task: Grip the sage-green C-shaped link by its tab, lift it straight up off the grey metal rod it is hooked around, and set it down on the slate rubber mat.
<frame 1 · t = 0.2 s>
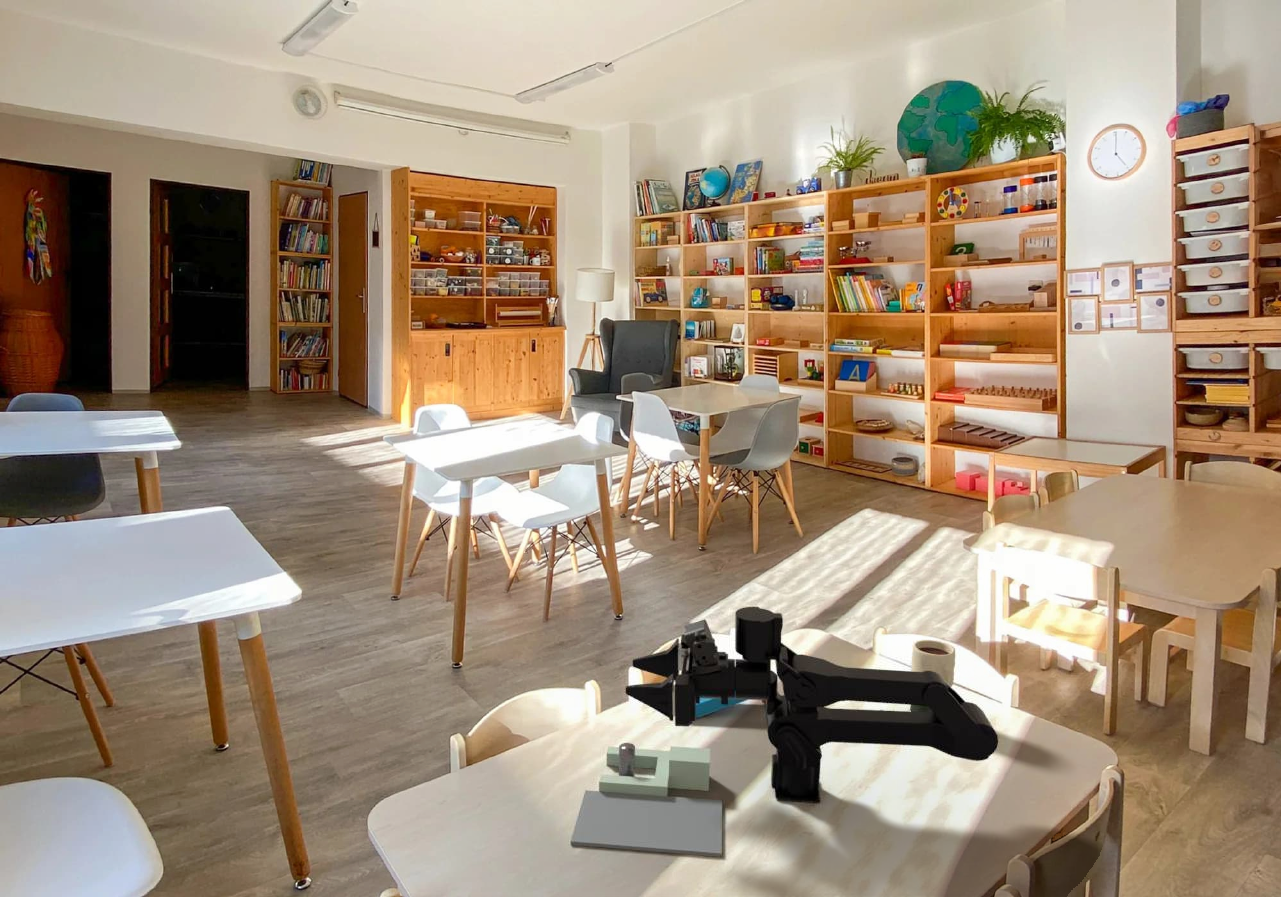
hand: (629, 676, 127), 16 cm above the table, tool horizontal, fingers open, 9 cm apart
lever: (728, 709, 153), on the table
grey metal rod: (626, 777, 130), on the table
cream and green cup: (928, 718, 151), on the table
c link: (636, 778, 130), on the table
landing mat: (649, 823, 119), on the table
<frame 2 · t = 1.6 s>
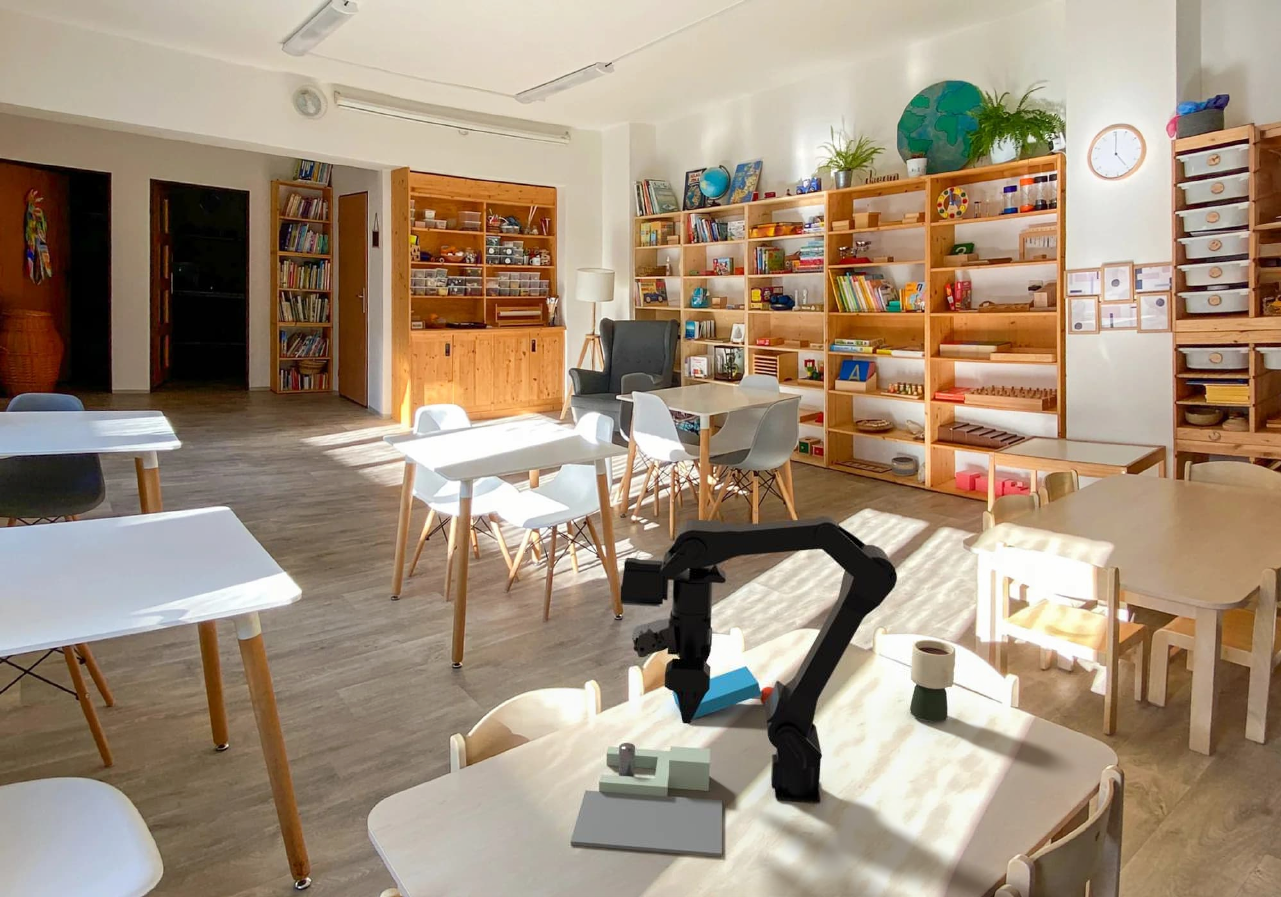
hand: (687, 707, 127), 12 cm above the table, tool pointing down, fingers open, 9 cm apart
nothing on the table moved.
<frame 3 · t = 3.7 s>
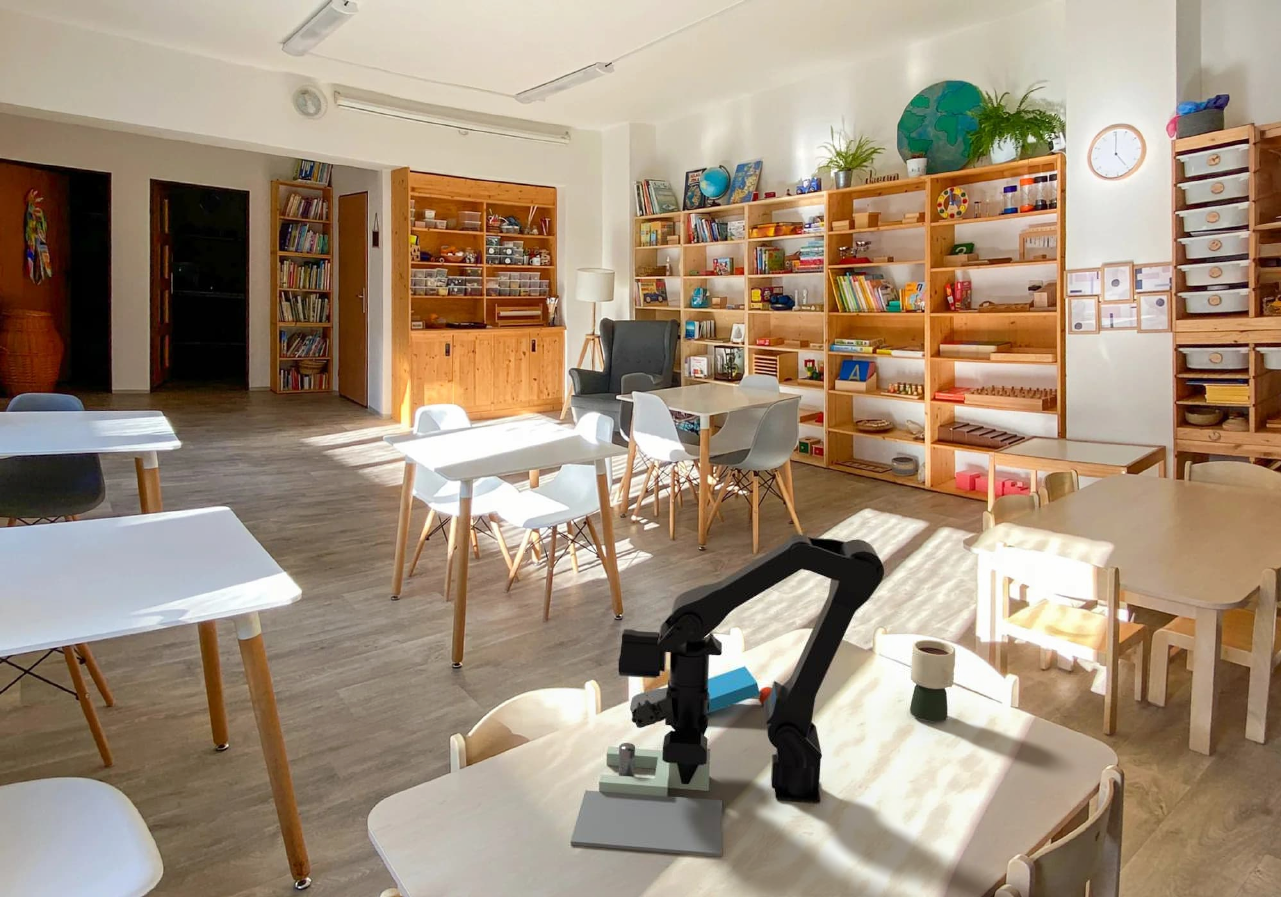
hand: (686, 775, 129), 1 cm above the table, tool pointing down, fingers closed on c link, 4 cm apart
c link: (636, 778, 130), on the table, touching gripper, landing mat
everything else where it was.
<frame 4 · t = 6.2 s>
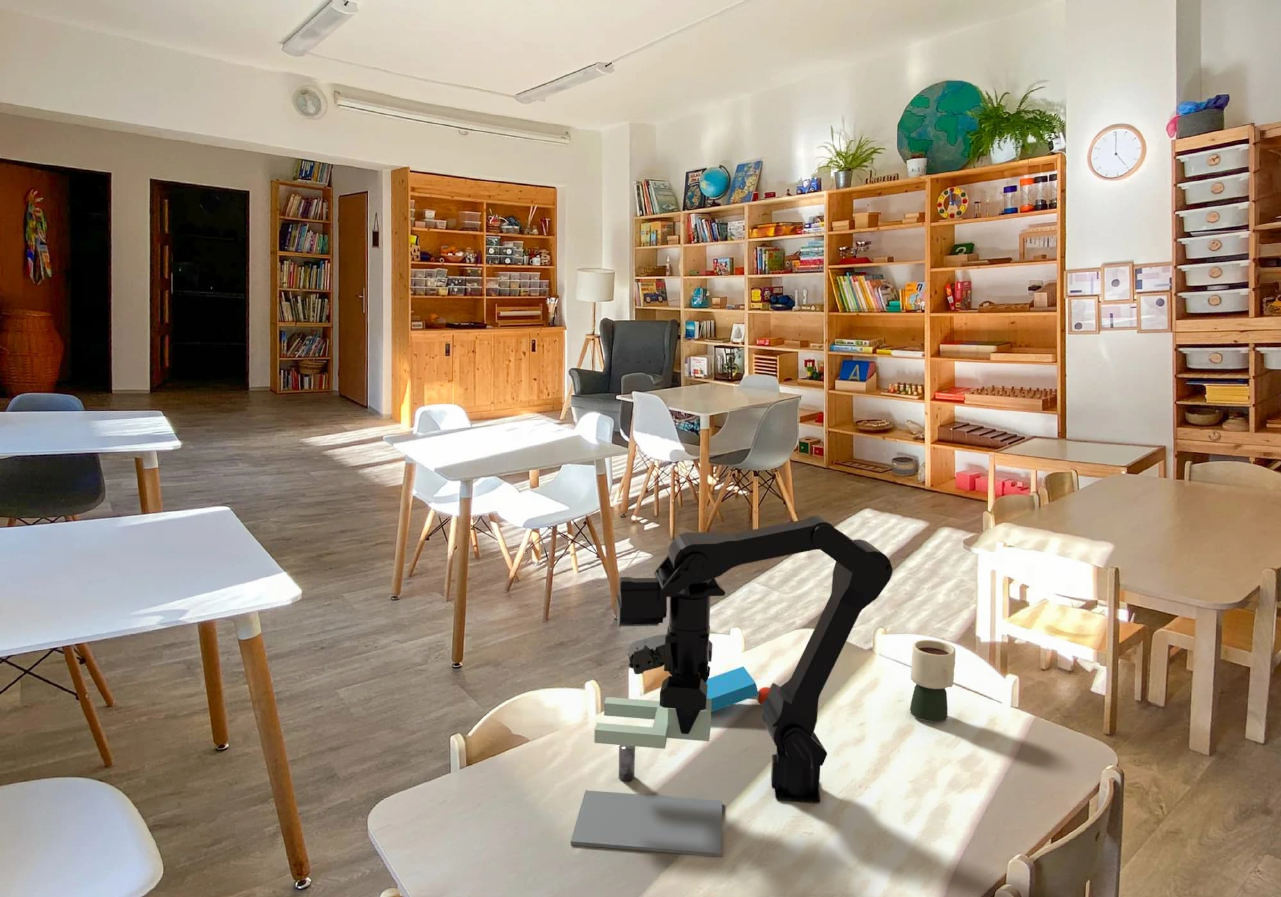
hand: (686, 725, 124), 11 cm above the table, tool pointing down, fingers closed on c link, 4 cm apart
c link: (634, 728, 125), point 10 cm above the table, touching gripper
everything else where it was.
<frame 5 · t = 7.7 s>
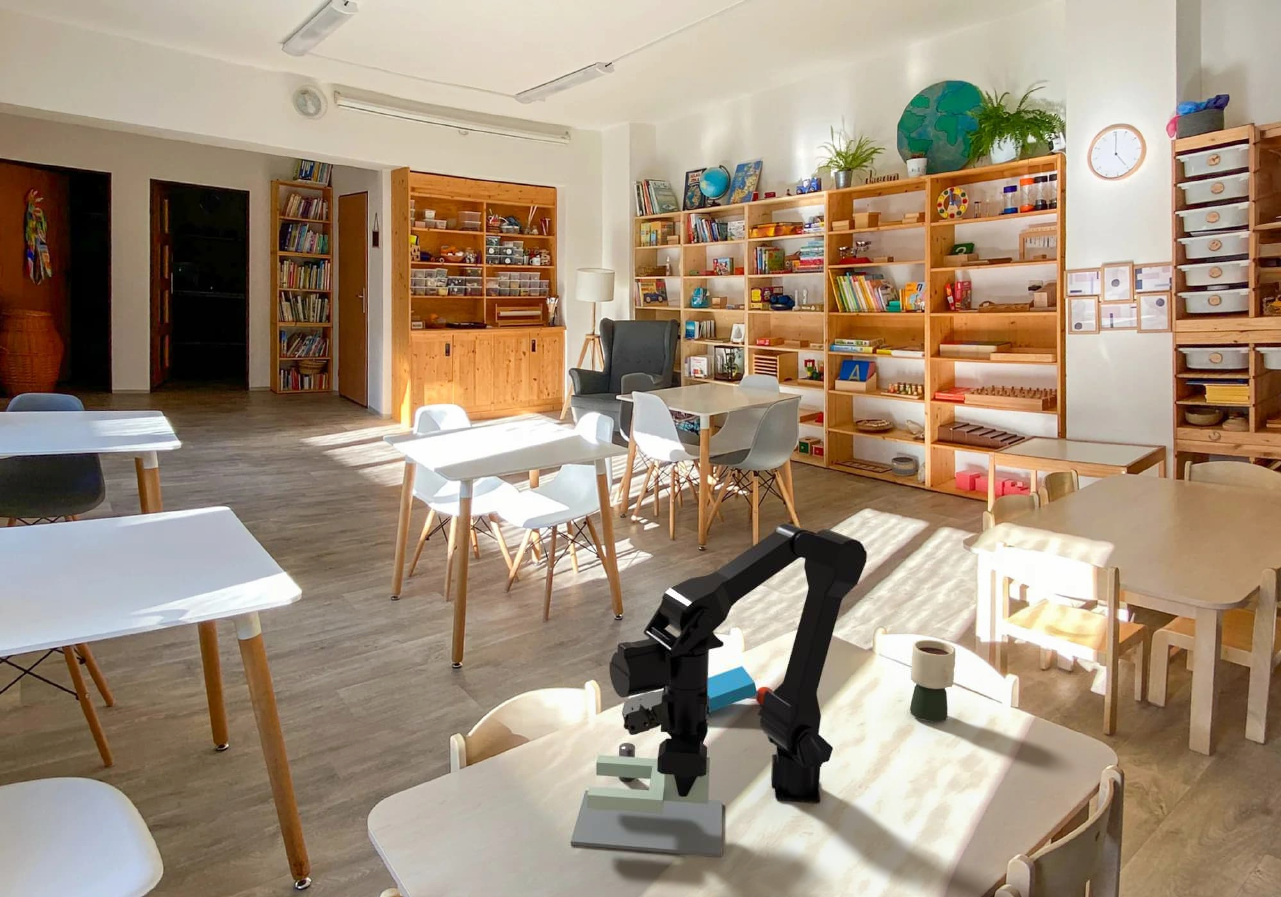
hand: (683, 787, 117), 6 cm above the table, tool pointing down, fingers closed on c link, 4 cm apart
c link: (628, 789, 118), point 5 cm above the table, touching gripper
everything else where it was.
when the fingers open (3 cm above the table, at t = 9.0 s): c link drops 1 cm, resting on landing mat.
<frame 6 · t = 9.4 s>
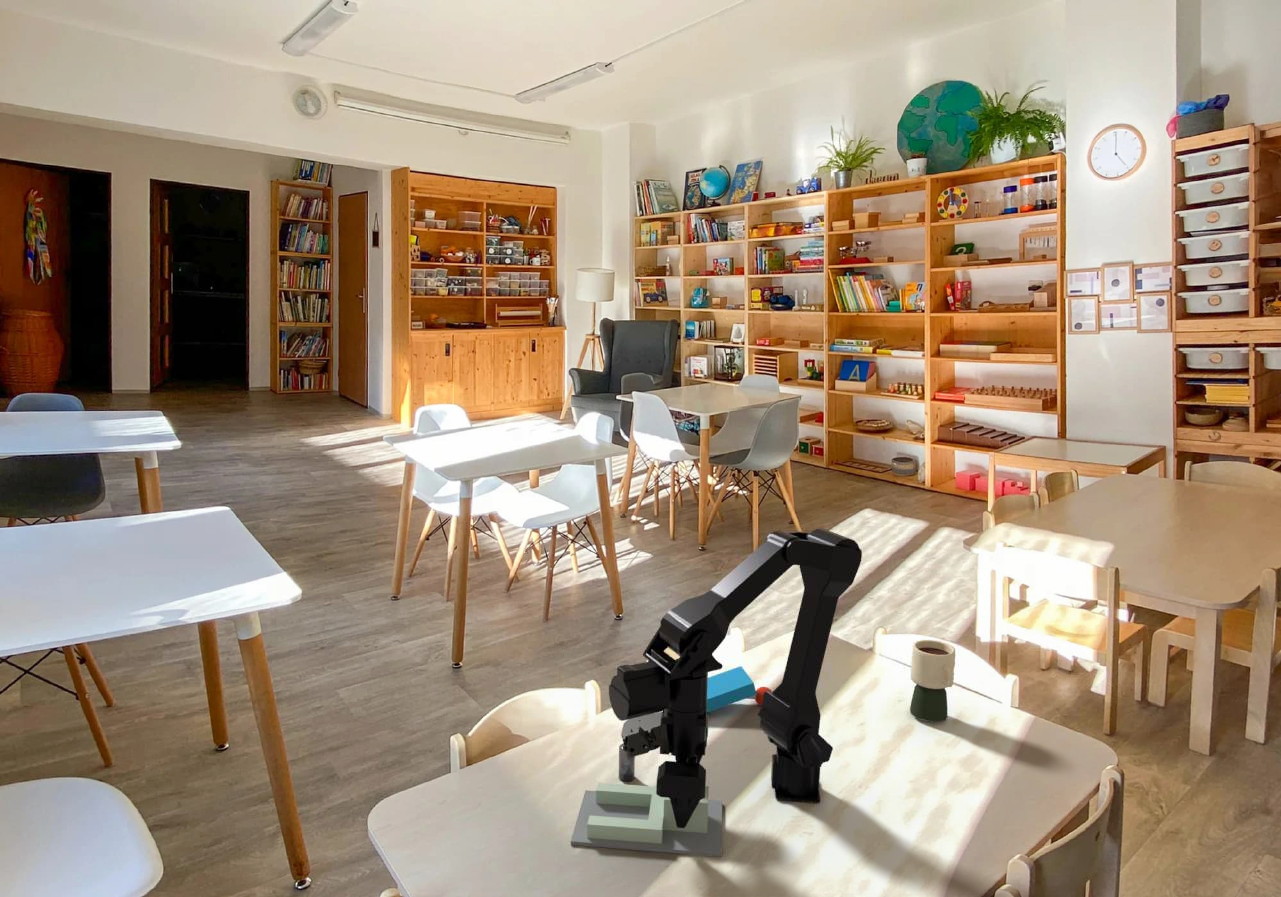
hand: (682, 808, 118), 3 cm above the table, tool pointing down, fingers open, 8 cm apart
c link: (628, 818, 119), resting on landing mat
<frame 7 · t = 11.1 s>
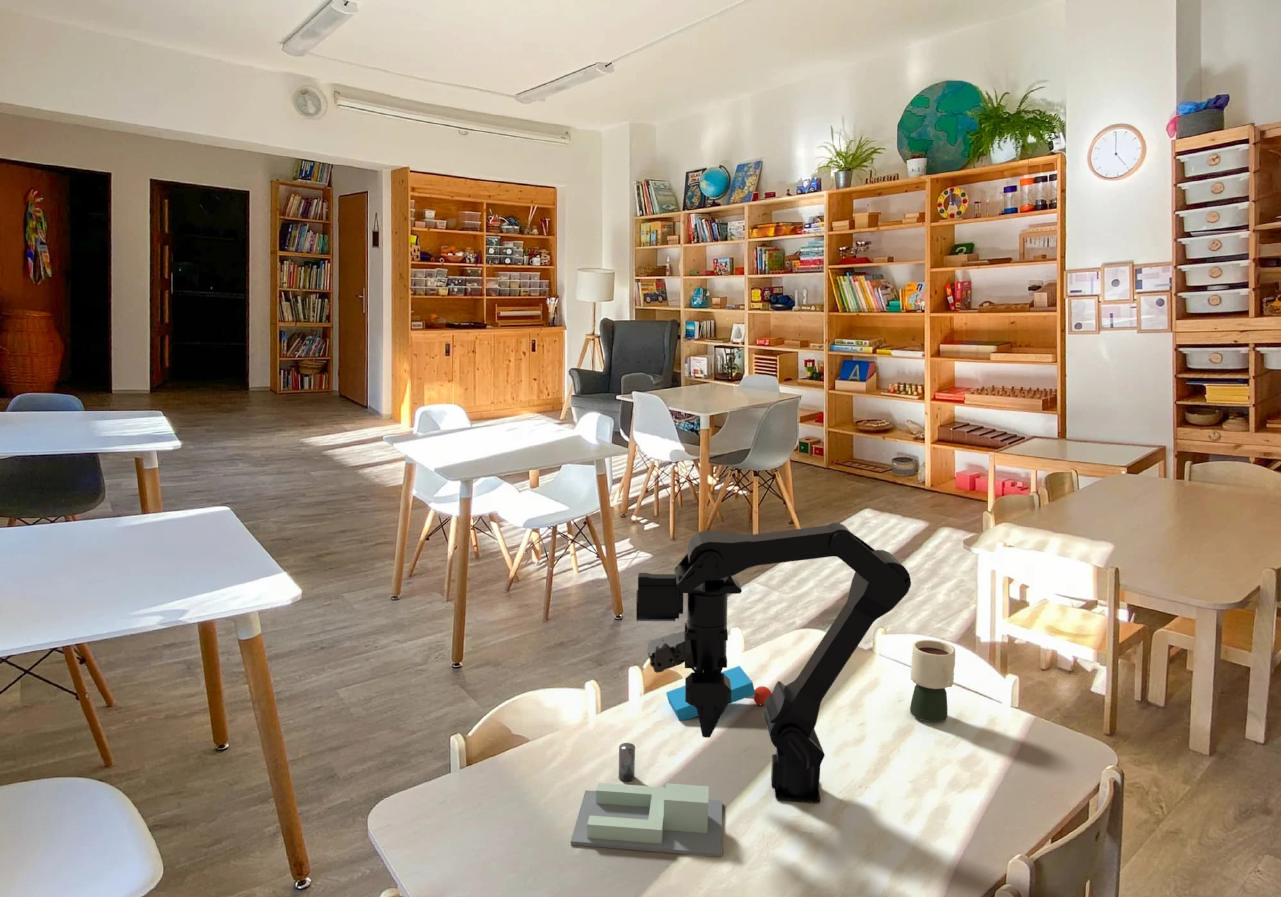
hand: (705, 721, 126), 11 cm above the table, tool pointing down, fingers open, 9 cm apart
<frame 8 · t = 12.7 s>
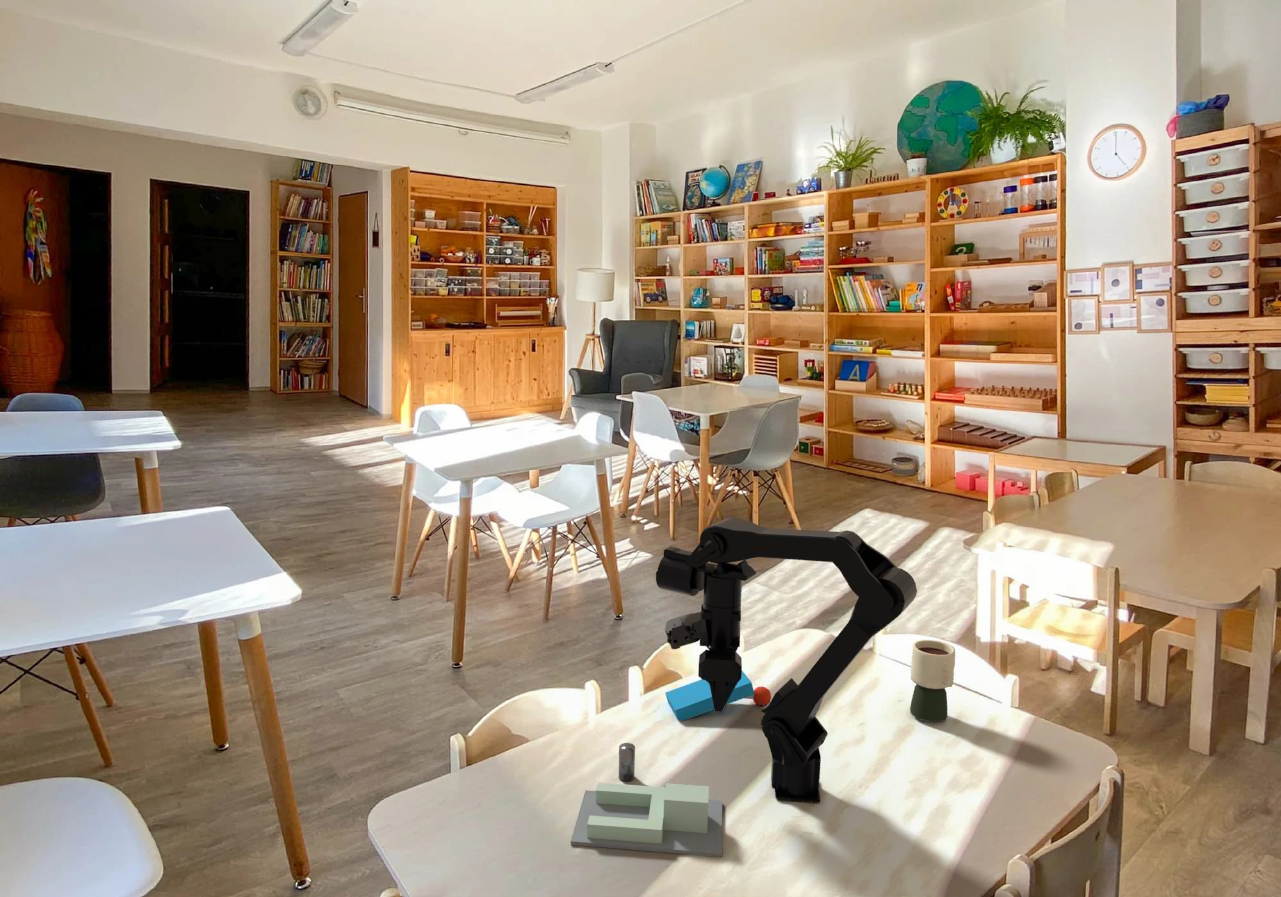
hand: (718, 697, 133), 11 cm above the table, tool pointing down, fingers open, 9 cm apart
at the end: c link inside the target area (0.0 cm from its centre), point 0.5 cm above the table; c link touching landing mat; the gripper is holding nothing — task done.
